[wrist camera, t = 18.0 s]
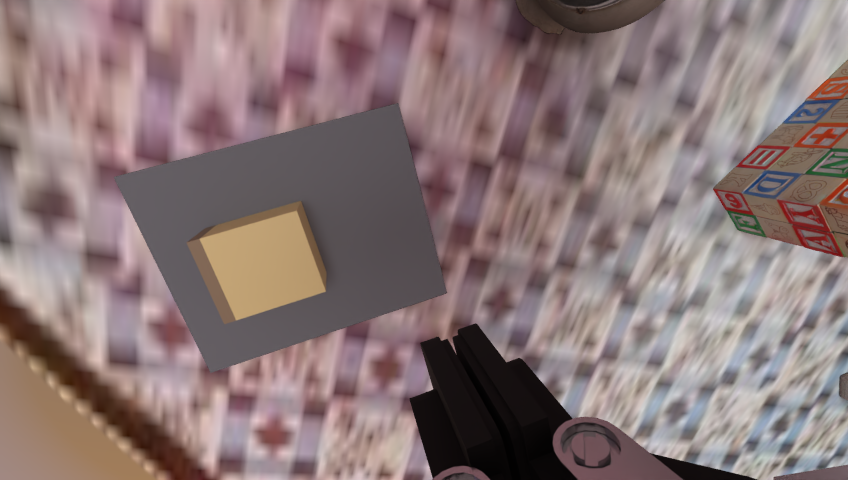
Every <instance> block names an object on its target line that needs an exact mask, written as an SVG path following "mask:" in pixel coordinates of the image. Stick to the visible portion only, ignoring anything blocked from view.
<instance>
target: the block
mask: <svg viewBox="0 0 848 480" xmlns="http://www.w3.org/2000/svg"><path fill="white" fill-rule="evenodd" d="M186 243H187V245H188V247H189V249H190V251H191V254H192V256H193V258H194V260H195V262H196V264H197V267H198V269H199V271H200V273H201V275H202V277H203V280H204V282H205V284H206V286H207V288H208V290H209V292H210V295H211V297H212V299H213V301H214V303H215V305H216V308H217V310H218V312H219V314H220V316H221V318H222V321H223V323H224V324H227V323H230V322H233V321H236V320H239V319H243V318H246V317H249V316H252V315H255V314H258V313H261V312H264V311H267V310H270V309H274V308H277V307H280V306H283V305H286V304H289V303H292V302H295V301H298V300H302V299H305V298H308V297H311V296H314V295H317V294H320V293H323V292H326V275H327V273H326V270H325V267H324V264H323V261H322V258H321V256H320V253H319V250H318V247H317V244H316V242H315V239H314V236H313V233H312V230H311V228H310V225H309V222H308V219H307V216H306V214H305V211H304V208H303V205H302V202H301V201H298V202H295V203H291V204H288V205H284V206H281V207H277V208H274V209H270V210H267V211H263V212H260V213H256V214H253V215H249V216H246V217H243V218H239V219H236V220H232V221H229V222H225V223H222V224H218V225H215V226H211V227H208V228H205V229H204V230H202V231H201V232H200V233H198V234H197V235H196V236H194V237H193V238H192V239H190V240H189V241H188V242H186Z"/></svg>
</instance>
